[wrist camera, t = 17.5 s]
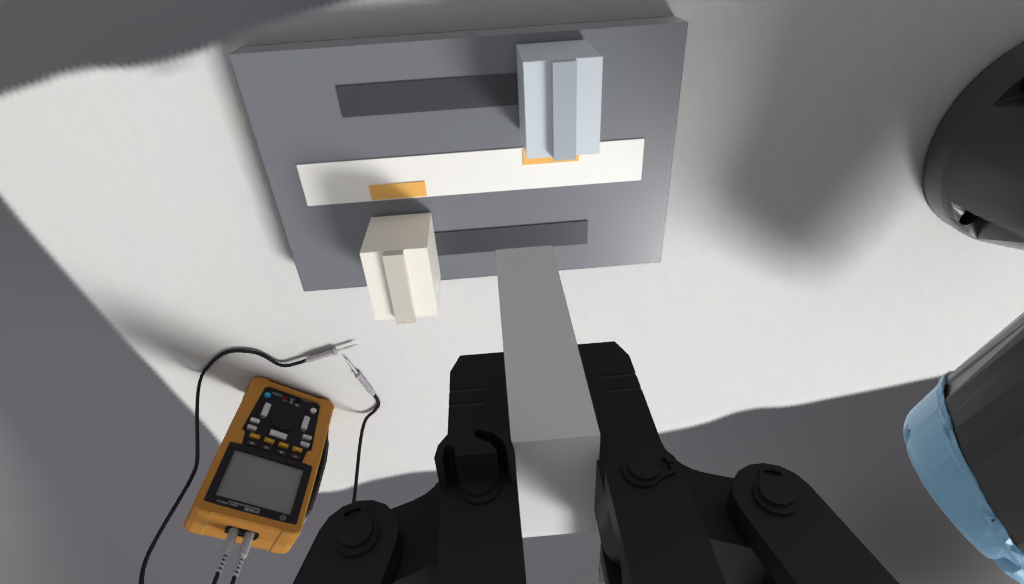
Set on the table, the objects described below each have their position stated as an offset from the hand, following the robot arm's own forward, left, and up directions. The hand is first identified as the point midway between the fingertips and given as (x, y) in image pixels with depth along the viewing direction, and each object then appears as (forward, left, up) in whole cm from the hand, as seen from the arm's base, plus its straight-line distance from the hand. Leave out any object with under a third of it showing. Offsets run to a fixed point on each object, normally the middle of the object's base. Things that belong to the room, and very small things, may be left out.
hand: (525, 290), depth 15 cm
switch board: (+2, +5, -24) cm, 24 cm away
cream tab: (+7, +10, -21) cm, 24 cm away
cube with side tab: (-3, 0, -21) cm, 22 cm away
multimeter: (+18, +22, -24) cm, 37 cm away
